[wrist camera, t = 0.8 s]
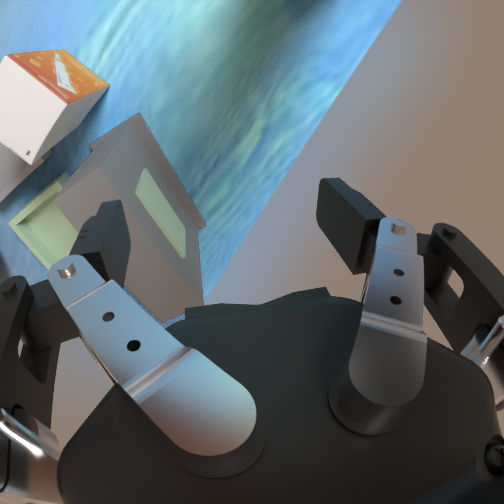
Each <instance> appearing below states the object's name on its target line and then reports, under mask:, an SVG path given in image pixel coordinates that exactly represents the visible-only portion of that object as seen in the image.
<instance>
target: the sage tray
mask: <svg viewBox="0 0 504 504" xmlns="http://www.w3.org/2000/svg"><path fill="white" fill-rule="evenodd" d="M69 179H70V176H69V174H68V173H67V171H65V172H64V173H63V174H61V175H60V176H59V177H58V178H56V179H55V180H54V181H53V182H51V183H50V184H49V185H48V186H46V187H45V188H44V189H43V190H41V191H40V192H39V193H38V194H37V195H35V196H34V197H33V198H32V199H31V200H30V201H28V202H27V203H26V204H25V205H24V206H23V207H22V208H21V209H19V210H18V211H17V212H16V214H15V215H14V216H13V217H12V219H11V220H10V221H9V223H8V224H9V225H10V227H11V228H12V229H13V230H14V232H15V233H16V234H17V235H18V236H19V238H20V239H21V240H22V241H23V242H24V243H25V245H26V246H27V247H28V248H29V249H30V250H31V252H32V253H33V254H34V255H35V256H36V257H37V258H38V259H39V260H40V262H41V263H42V264H43V265H44V266H45V267H46V268H47V269H48V270H49V269H50V268H51V266H52V265H53V264H54V263H55V262H57V261H58V260H60V259H62V258H64V257H66V256H69V253H70V251H71V249H72V247H73V245H74V242H75V240H76V239H77V236H78V234H79V233H78V232H77V231H76V230H75V228H74V227H73V226H72V225H71V223H70V222H69V221H68V220H67V218H66V217H65V216H64V215H63V213H62V212H61V211H60V209H59V208H58V207H57V206H56V204H55V203H54V202H53V200H54V199H55V197H56V196H57V195H58V193H59V192H60V190H61V189H62V188H63V186H64V185H65V184H66V183H67V181H68V180H69Z"/></svg>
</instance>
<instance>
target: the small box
mask: <svg viewBox="0 0 504 504" xmlns="http://www.w3.org/2000/svg"><path fill="white" fill-rule="evenodd" d="M109 86H110V85H109V84H108V83H107V82H105V81H104V80H103V79H101V78H100V77H99V76H97V75H96V74H95V73H93V72H92V71H91V70H90V69H88V68H87V67H86V66H84V65H83V64H82V63H81V62H79V61H78V60H77V59H76V58H74V57H73V56H72V55H71V54H70V53H68V52H67V51H66V50H64V49H63V50H47V51H34V52H24V53H16V54H9V55H5V57H4V58H3V60H2V62H1V64H0V142H1V143H2V144H3V145H5V146H6V147H7V148H9V149H11V150H12V151H13V152H14V153H16V154H17V155H18V156H19V157H21V158H22V159H23V160H25V161H26V162H27V163H28V164H30V165H32V164H34V163H35V162H36V161H37V160H38V159H39V158H40V157H41V156H43V155H44V154H45V153H46V152H47V151H48V150H49V149H51V148H52V147H53V146H54V145H55V144H57V143H58V142H59V141H60V140H62V139H63V138H64V137H66V136H67V135H68V134H69V133H70V132H72V131H73V130H74V129H75V128H77V127H78V126H79V125H80V124H81V122H82V121H83V119H84V118H85V117H86V115H87V114H88V113H89V111H90V110H91V109H92V107H93V106H94V105H95V103H96V102H97V101H98V100H99V98H100V97H101V96H102V95H103V94H104V92H105V91H106V90H107V89H108V87H109Z"/></svg>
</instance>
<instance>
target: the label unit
mask: <svg viewBox="0 0 504 504" xmlns="http://www.w3.org/2000/svg"><path fill="white" fill-rule="evenodd" d="M89 146H90V147H91V149H92V150H93V151H92V152H91V153H90V154H89V155H88V156H87V158H86V159H85V160H84V161H83V162H82V164H81V165H80V166H79V167H78V169H77V170H76V171H75V172H74V174H73V175H72V176H71V177H70V179H69V180H68V181H67V183H66V184H65V185H64V186H63V188H62V189H61V190H60V192H59V193H58V195H57V196H56V197H55V199H54V200H53V202H54V203H55V204H56V206H57V207H58V208H59V209H60V211H61V212H62V213H63V215H64V216H65V217H66V218H67V220H68V221H69V222H70V223H71V225H72V226H73V227H74V228H75V230H76V231H77V232H78V233H80V230H81V228H82V225H83V224H84V223H85V222H86V221H87V220H88V219H89V218H90V217H91V216H96V214H97V211H98V209H99V207H100V205H101V203H102V202H106V201H112V200H118V199H120V200H121V202H122V205H123V209H124V213H125V217H126V221H127V225H128V230H129V234H130V239H131V250H130V255H129V260H128V266H127V271H126V277H125V282H124V286H125V287H126V288H127V289H128V290H129V291H130V292H131V293H132V294H133V295H134V296H135V297H136V298H137V299H138V300H139V301H140V302H141V303H142V304H143V305H144V306H145V307H146V308H147V309H148V310H149V311H150V312H151V313H152V314H153V315H154V316H155V317H156V318H157V319H158V320H159V321H160V322H161V323H162V322H164V321H167V320H169V319H172V318H174V317H177V316H179V315H182V314H184V313H185V308H190V307H198V306H204V301H203V290H202V279H201V268H200V255H199V242H198V229H200V228H202V227H204V226H206V222H205V221H204V219H203V218H202V216H201V214H200V213H199V211H198V209H197V208H196V206H195V205H194V203H193V201H192V200H191V198H190V196H189V195H188V193H187V191H186V190H185V188H184V186H183V185H182V183H181V181H180V180H179V178H178V176H177V175H176V173H175V171H174V170H173V168H172V166H171V165H170V163H169V161H168V160H167V158H166V156H165V155H164V153H163V151H162V150H161V148H160V146H159V144H158V143H157V141H156V139H155V138H154V136H153V134H152V133H151V131H150V129H149V127H148V126H147V124H146V122H145V121H144V119H143V117H142V115H141V114H140V113H138V114H136V115H134V116H133V117H131V118H129V119H128V120H126V121H125V122H123V123H121V124H120V125H118V126H117V127H115V128H113V129H112V130H110V131H109V132H107V133H106V134H104V135H103V136H101V137H100V138H98V139H97V140H95V141H94V142H93V143H91V144H90V145H89Z"/></svg>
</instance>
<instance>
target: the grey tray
mask: <svg viewBox="0 0 504 504" xmlns="http://www.w3.org/2000/svg"><path fill="white" fill-rule="evenodd" d="M53 153H54V152H53V151H52V149H49V150H48V151H47V152H46V153H45V154H44V155H43V156H41V157H40V158H39V159H38V160H37V161H36V162H35V163H34V164H32V165H30V164H28V163H27V162H26V161H25V160H23V159H22V158H21V157H19V156H18V155H17V154H16V153H14V152H13V151H12V150H11V149H9V148H7V147H6V146H5V145H3V144H2V143H1V142H0V202H1V201H2V200H3V199H4V198H5V197H6V196H7V195H8V194H9V193H10V192H11V191H12V190H13V189H14V188H15V187H16V186H17V185H18V184H20V183H21V182H22V181H23V180H24V179H25V178H26V177H27V176H28V175H29V174H30V173H32V172H33V171H34V170H35V169H36V168H37V167H38V166H40V165H41V164H42V163H43V162H44V161H45V160H46V159H47V158H49V157H50V156H51V155H52V154H53Z"/></svg>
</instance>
